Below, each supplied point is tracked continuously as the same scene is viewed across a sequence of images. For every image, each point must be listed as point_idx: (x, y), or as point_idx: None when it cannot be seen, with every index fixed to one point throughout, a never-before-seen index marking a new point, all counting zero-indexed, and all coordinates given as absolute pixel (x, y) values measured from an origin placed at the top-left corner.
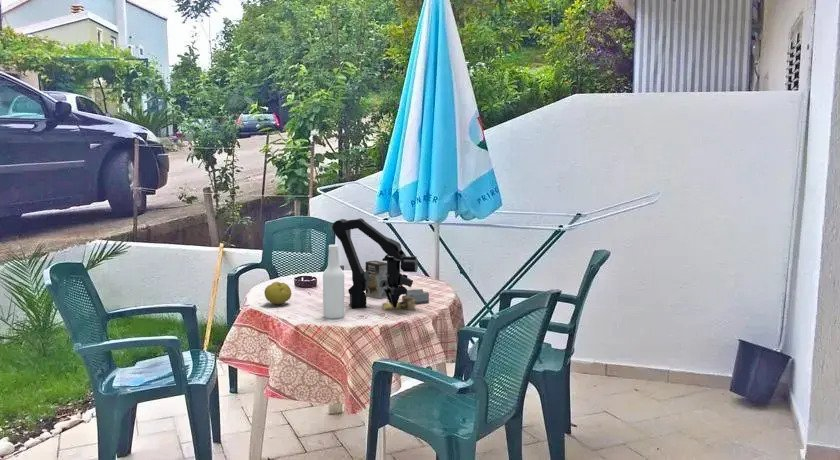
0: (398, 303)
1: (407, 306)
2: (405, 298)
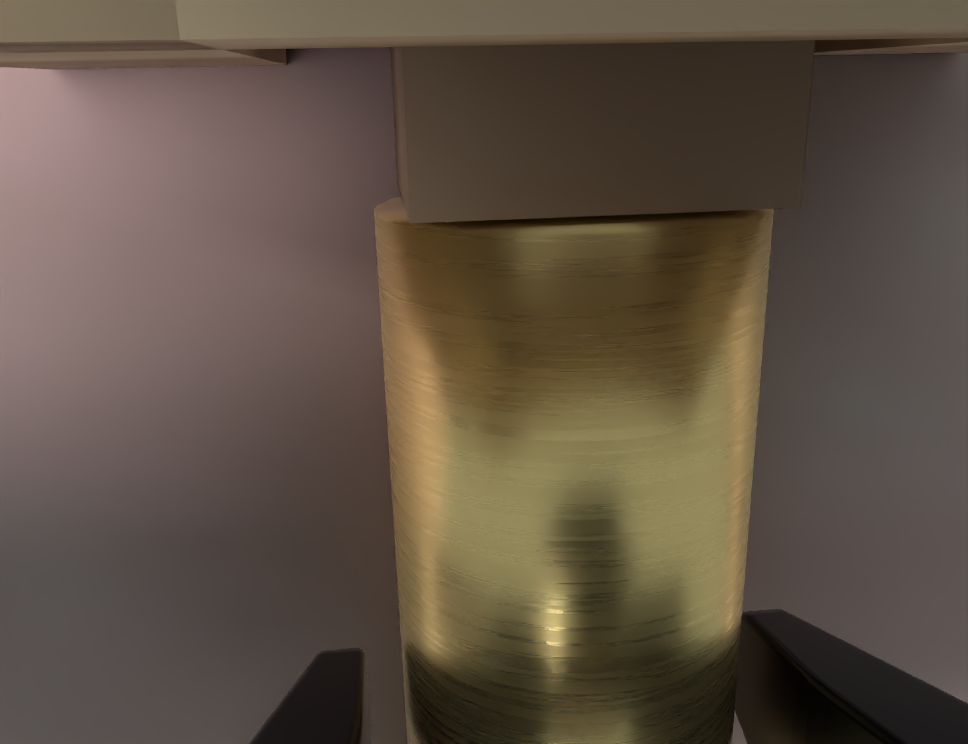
0: (728, 551)
1: (906, 48)
2: (755, 35)
